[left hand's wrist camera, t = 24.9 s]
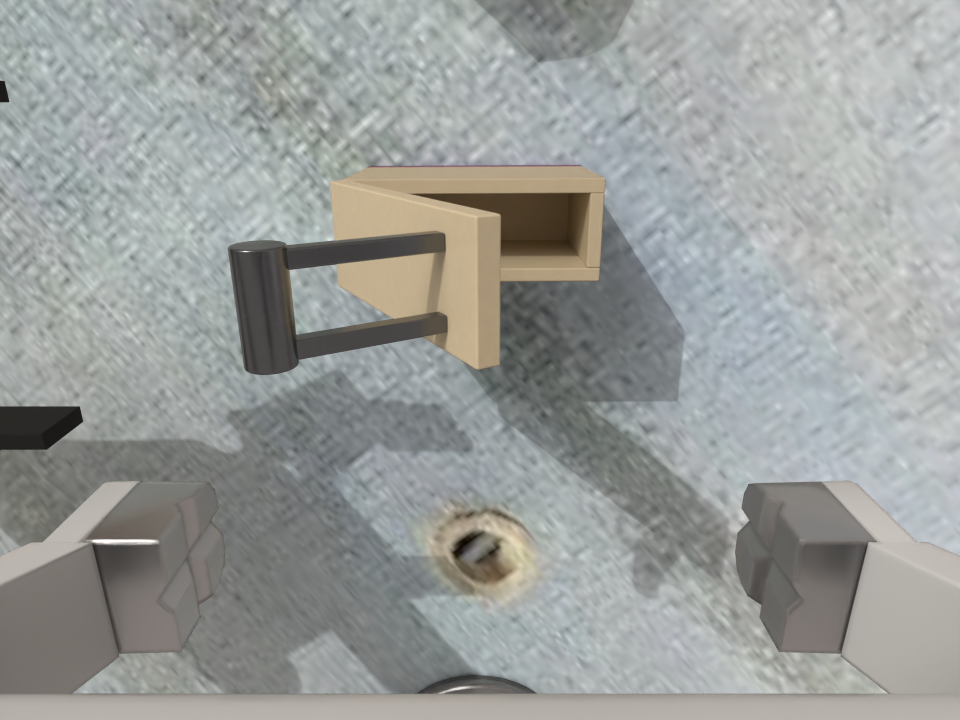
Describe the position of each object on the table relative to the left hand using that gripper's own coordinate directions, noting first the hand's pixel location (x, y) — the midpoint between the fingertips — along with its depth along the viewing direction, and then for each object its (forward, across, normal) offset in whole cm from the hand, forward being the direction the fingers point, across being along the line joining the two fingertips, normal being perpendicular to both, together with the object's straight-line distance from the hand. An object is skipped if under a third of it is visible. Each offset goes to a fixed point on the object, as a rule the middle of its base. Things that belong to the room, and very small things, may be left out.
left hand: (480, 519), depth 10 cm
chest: (+36, 0, 0) cm, 37 cm away
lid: (+20, -3, 0) cm, 21 cm away
